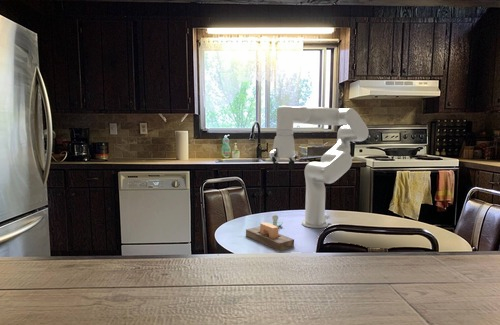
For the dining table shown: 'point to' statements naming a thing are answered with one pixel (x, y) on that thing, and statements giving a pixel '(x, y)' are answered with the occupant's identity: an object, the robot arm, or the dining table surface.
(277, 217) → the pacifier
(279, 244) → the rail
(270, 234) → the clip
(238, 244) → the dining table surface
